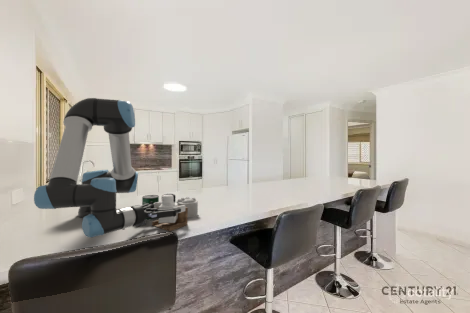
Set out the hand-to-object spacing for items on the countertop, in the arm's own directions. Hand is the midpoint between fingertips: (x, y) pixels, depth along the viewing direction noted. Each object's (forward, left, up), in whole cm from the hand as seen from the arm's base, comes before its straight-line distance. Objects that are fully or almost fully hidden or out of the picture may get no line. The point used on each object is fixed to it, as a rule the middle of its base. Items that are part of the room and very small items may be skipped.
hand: (174, 205), depth 101 cm
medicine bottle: (0, -4, -6) cm, 7 cm away
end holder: (0, -3, -8) cm, 9 cm away
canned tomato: (-17, -1, -9) cm, 19 cm away
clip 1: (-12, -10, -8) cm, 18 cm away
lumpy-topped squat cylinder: (-8, +15, -9) cm, 19 cm away
